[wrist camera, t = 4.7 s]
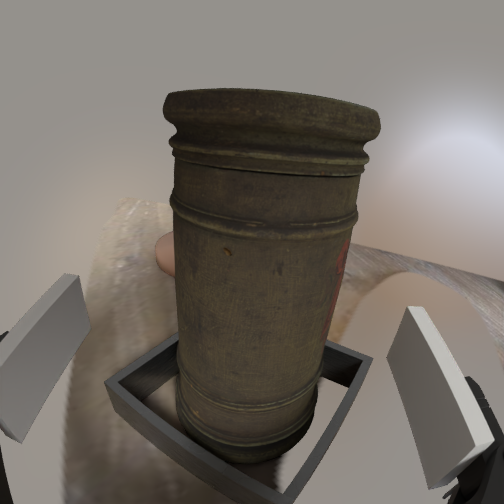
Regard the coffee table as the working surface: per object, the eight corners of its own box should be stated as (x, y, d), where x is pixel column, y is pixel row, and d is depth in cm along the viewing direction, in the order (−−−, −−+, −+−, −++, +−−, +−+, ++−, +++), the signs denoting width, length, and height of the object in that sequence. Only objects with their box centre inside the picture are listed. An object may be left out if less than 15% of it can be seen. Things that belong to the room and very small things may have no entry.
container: (224, 489, 13) (244, 77, 6) (155, 385, 20) (131, 94, 12) (340, 418, 18) (429, 122, 11) (260, 345, 25) (286, 101, 17)
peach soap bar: (201, 229, 46) (201, 219, 45) (274, 254, 40) (275, 243, 39) (135, 257, 36) (134, 246, 36) (212, 295, 31) (212, 282, 30)
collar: (226, 326, 27) (227, 297, 25) (361, 386, 21) (373, 358, 20) (114, 410, 17) (103, 381, 16) (277, 523, 12) (287, 509, 10)
